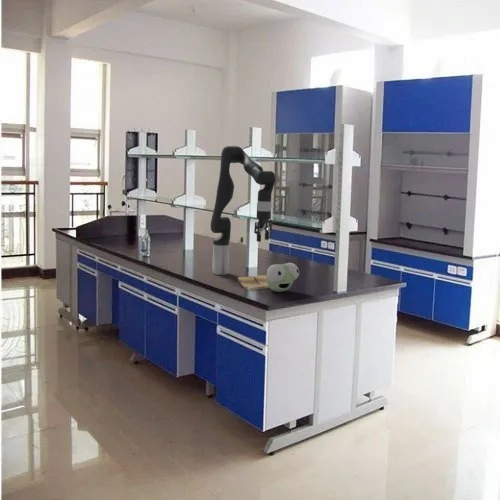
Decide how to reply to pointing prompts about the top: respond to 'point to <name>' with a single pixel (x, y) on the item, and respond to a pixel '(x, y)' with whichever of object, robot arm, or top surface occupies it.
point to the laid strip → (257, 287)
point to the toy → (281, 276)
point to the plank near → (247, 281)
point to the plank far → (260, 279)
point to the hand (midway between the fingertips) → (262, 240)
